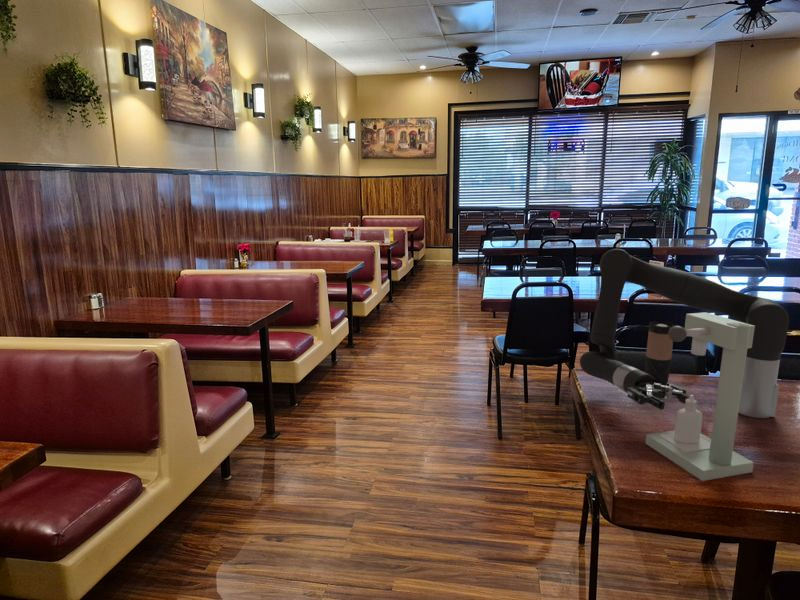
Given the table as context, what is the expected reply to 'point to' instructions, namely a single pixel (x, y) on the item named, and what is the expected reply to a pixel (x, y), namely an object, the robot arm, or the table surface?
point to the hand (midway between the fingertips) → (677, 404)
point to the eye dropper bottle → (688, 423)
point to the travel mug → (659, 352)
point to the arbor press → (716, 452)
